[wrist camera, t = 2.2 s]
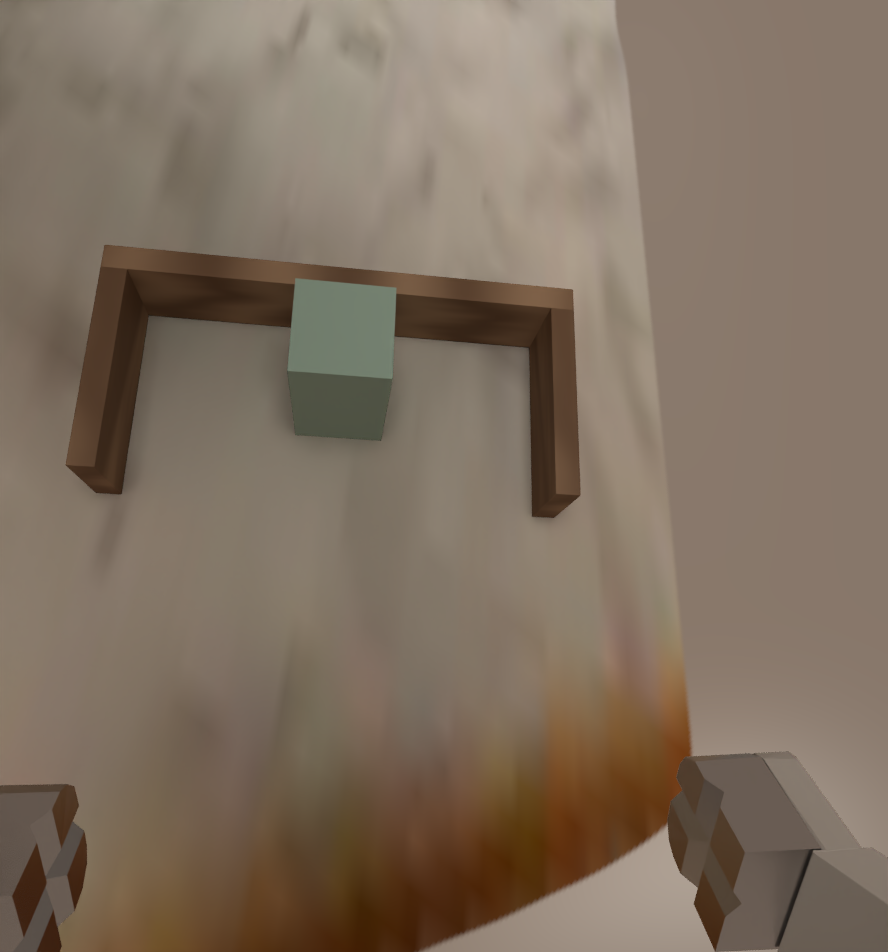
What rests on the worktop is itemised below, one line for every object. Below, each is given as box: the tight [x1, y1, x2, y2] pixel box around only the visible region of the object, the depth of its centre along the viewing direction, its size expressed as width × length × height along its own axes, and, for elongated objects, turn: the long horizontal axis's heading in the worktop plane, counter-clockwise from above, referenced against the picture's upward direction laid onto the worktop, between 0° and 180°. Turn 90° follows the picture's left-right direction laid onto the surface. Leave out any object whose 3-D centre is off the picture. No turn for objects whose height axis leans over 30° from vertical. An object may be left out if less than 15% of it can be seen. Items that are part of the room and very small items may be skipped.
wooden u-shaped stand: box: [66, 245, 580, 518], centre depth 38 cm, size 23×11×4 cm, turn 89°
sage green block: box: [287, 278, 396, 441], centre depth 37 cm, size 4×4×8 cm
